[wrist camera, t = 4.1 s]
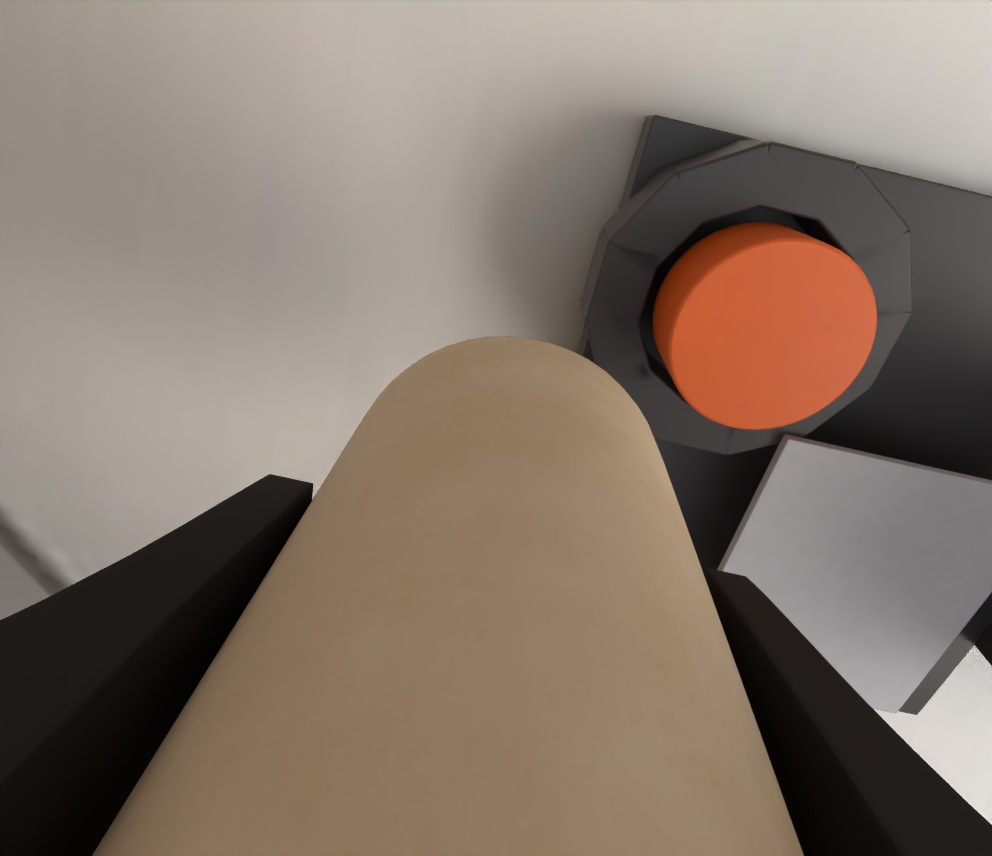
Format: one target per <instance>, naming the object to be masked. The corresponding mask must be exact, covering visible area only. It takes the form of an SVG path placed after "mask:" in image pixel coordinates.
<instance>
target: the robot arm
mask: <svg viewBox="0 0 992 856" xmlns="http://www.w3.org/2000/svg"><path fill="white" fill-rule="evenodd" d="M312 493H313V483H309V482H304V481H299V480H295V479H290V478H285V477H281V476H276V475H271V474H269V475H267V476H266V477H264V478H262V479H260V480H258V481H257V482H255V483H253V484H252V485H250V486H248V487H247V488H245V489H243V490H241V491H240V492H238V493H236V494H235V495H233V496H231V497H230V498H228V499H226V500H224V501H223V502H221V503H219V504H218V505H216V506H214V507H213V508H211V509H209V510H208V511H206V512H204V513H203V514H201V515H199V516H197V517H196V518H194V519H192V520H191V521H189V522H187V523H186V524H184V525H182V526H180V527H179V528H177V529H175V530H173V531H172V532H170V533H168V534H166V535H165V536H163V537H161V538H159V539H158V540H156V541H154V542H152V543H150V544H149V545H147V546H145V547H143V548H142V549H140V550H138V551H136V552H135V553H133V554H131V555H129V556H127V557H125V558H123V559H121V560H120V561H118V562H116V563H114V564H112V565H110V566H108V567H106V568H104V569H102V570H100V571H98V572H96V573H94V574H92V575H90V576H89V577H87V578H85V579H83V580H81V581H79V582H77V583H75V584H73V585H71V586H69V587H67V588H65V589H63V590H61V591H60V592H58V593H56V594H54V595H52V596H50V597H48V598H46V599H44V600H42V601H40V602H38V603H36V604H34V605H32V606H30V607H28V608H25V609H24V610H21V611H19V612H17V613H15V614H13V615H11V616H9V617H6V618H4V619H2V620H0V856H92V855H93V853H94V852H95V850H96V848H97V847H98V845H99V844H100V842H101V840H102V839H103V837H104V836H105V834H106V832H107V831H108V829H109V827H110V826H111V824H112V823H113V821H114V819H115V818H116V816H117V815H118V813H119V811H120V810H121V808H122V807H123V805H124V803H125V802H126V800H127V798H128V797H129V795H130V794H131V792H132V790H133V789H134V787H135V786H136V784H137V782H138V781H139V779H140V777H141V776H142V774H143V773H144V771H145V769H146V768H147V766H148V765H149V763H150V761H151V760H152V758H153V757H154V755H155V753H156V752H157V750H158V748H159V747H160V745H161V744H162V742H163V740H164V739H165V737H166V736H167V734H168V732H169V731H170V729H171V727H172V726H173V724H174V723H175V721H176V719H177V718H178V716H179V715H180V713H181V711H182V710H183V708H184V707H185V705H186V703H187V702H188V700H189V698H190V697H191V695H192V694H193V692H194V690H195V689H196V687H197V686H198V684H199V682H200V681H201V679H202V677H203V676H204V674H205V673H206V671H207V669H208V668H209V666H210V665H211V663H212V661H213V660H214V658H215V656H216V655H217V653H218V652H219V650H220V648H221V647H222V645H223V644H224V642H225V640H226V639H227V637H228V636H229V634H230V632H231V631H232V629H233V627H234V626H235V624H236V623H237V621H238V619H239V618H240V616H241V615H242V613H243V611H244V610H245V608H246V606H247V605H248V603H249V602H250V600H251V598H252V597H253V595H254V594H255V592H256V590H257V589H258V587H259V586H260V584H261V582H262V581H263V579H264V577H265V576H266V574H267V573H268V571H269V569H270V568H271V566H272V565H273V563H274V561H275V560H276V558H277V556H278V555H279V553H280V552H281V550H282V548H283V547H284V545H285V544H286V542H287V540H288V539H289V537H290V536H291V534H292V532H293V531H294V529H295V527H296V526H297V524H298V523H299V521H300V519H301V518H302V516H303V515H304V513H305V511H306V510H307V508H308V506H309V505H310V503H311V502H312ZM702 571H703V574H704V577H705V579H706V582H707V585H708V588H709V591H710V594H711V596H712V599H713V602H714V605H715V608H716V610H717V613H718V616H719V619H720V622H721V624H722V627H723V630H724V633H725V636H726V638H727V641H728V644H729V647H730V650H731V652H732V655H733V658H734V661H735V664H736V667H737V669H738V672H739V675H740V678H741V681H742V683H743V686H744V689H745V692H746V695H747V697H748V700H749V703H750V706H751V709H752V711H753V714H754V717H755V720H756V723H757V725H758V728H759V731H760V734H761V737H762V740H763V742H764V745H765V748H766V751H767V754H768V756H769V759H770V762H771V765H772V768H773V770H774V773H775V776H776V779H777V782H778V784H779V787H780V790H781V793H782V796H783V799H784V801H785V804H786V807H787V810H788V813H789V815H790V818H791V821H792V824H793V827H794V829H795V832H796V835H797V838H798V841H799V843H800V846H801V849H802V852H803V855H804V856H992V825H991V824H990V823H989V822H988V821H987V820H986V819H985V818H984V817H982V816H981V815H980V814H979V813H978V812H977V811H976V810H975V809H974V808H973V807H972V806H971V805H970V804H969V803H967V802H966V801H965V800H964V799H963V798H962V797H961V796H960V795H959V794H958V793H957V792H956V791H955V790H954V789H953V788H952V787H951V786H950V785H949V784H948V783H947V782H946V781H945V780H944V779H943V778H942V777H941V776H940V775H939V774H938V773H937V772H936V771H935V770H933V769H932V768H931V767H930V766H929V765H928V764H927V763H926V762H925V761H924V760H923V759H922V758H921V757H920V756H919V755H918V754H917V753H916V752H915V751H914V750H913V749H912V748H911V747H910V746H909V745H908V744H907V743H906V742H905V741H904V740H903V739H902V738H901V737H900V736H899V735H898V734H897V733H896V732H895V731H894V730H893V729H892V728H891V727H890V726H889V725H888V724H887V723H886V722H885V721H884V720H883V719H882V718H881V717H880V716H879V715H878V714H877V713H876V711H875V710H874V709H873V708H872V707H871V706H870V705H869V704H868V703H867V702H866V701H865V700H864V699H863V698H862V697H861V696H860V695H859V694H858V693H857V692H856V691H855V690H854V689H853V687H852V686H851V685H850V684H849V683H848V682H847V681H846V680H845V679H844V678H843V677H842V676H841V675H840V674H839V673H838V672H837V671H836V669H835V668H834V667H833V666H832V665H831V664H830V663H829V662H828V661H827V660H826V659H825V658H824V657H823V656H822V655H821V653H820V652H819V651H818V650H817V649H816V648H815V647H814V646H813V645H812V644H811V643H810V642H809V641H808V639H807V638H806V637H805V636H804V635H803V634H802V633H801V632H800V631H799V630H798V629H797V628H796V627H795V626H794V624H793V623H792V622H791V621H790V620H789V619H788V618H787V617H786V616H785V615H784V614H783V613H782V612H781V611H780V610H779V609H778V608H777V606H776V605H775V604H774V603H773V602H772V601H771V600H770V599H769V598H768V597H767V596H766V595H765V594H764V593H763V592H762V591H761V590H760V589H759V588H758V587H757V586H756V585H755V584H754V583H753V582H752V581H750V580H749V579H748V578H747V577H746V576H742V575H738V574H733V573H728V572H724V571H719V570H714V569H710V568H705V567H704V568H703V570H702Z"/></svg>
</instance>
